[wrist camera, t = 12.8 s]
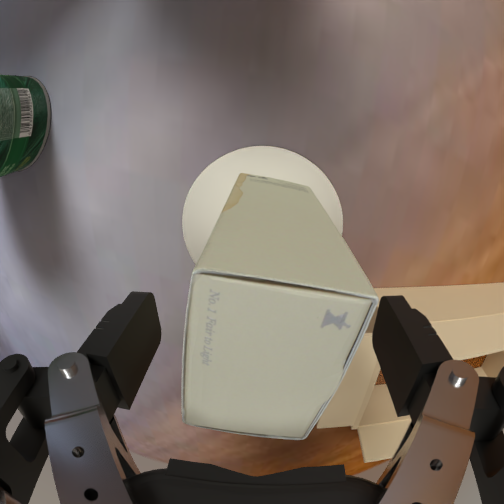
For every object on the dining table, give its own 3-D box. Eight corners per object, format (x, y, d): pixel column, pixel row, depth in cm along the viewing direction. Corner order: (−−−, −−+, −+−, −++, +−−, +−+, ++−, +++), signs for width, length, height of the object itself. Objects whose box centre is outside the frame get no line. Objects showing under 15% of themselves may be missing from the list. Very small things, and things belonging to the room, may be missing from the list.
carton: (535, 279, 19) (582, 321, 12) (499, 364, 24) (529, 411, 16) (327, 288, 21) (351, 369, 13) (311, 393, 25) (319, 467, 17)
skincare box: (239, 171, 17) (183, 252, 6) (313, 186, 17) (388, 291, 6) (222, 267, 20) (174, 425, 8) (289, 280, 20) (306, 445, 9)
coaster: (345, 148, 17) (347, 149, 16) (333, 294, 21) (334, 299, 20) (180, 148, 17) (177, 149, 17) (191, 292, 21) (189, 297, 21)
